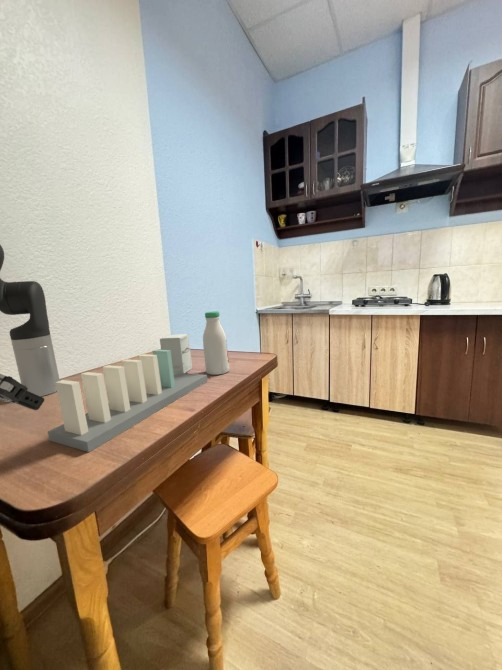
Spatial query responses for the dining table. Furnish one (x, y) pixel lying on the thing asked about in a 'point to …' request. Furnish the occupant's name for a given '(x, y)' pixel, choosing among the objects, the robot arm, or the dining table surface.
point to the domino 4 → (135, 380)
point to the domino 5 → (151, 373)
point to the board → (126, 415)
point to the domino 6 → (165, 368)
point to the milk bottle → (215, 345)
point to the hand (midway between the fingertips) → (38, 404)
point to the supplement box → (178, 351)
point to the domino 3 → (116, 388)
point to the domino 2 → (96, 396)
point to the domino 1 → (72, 406)
